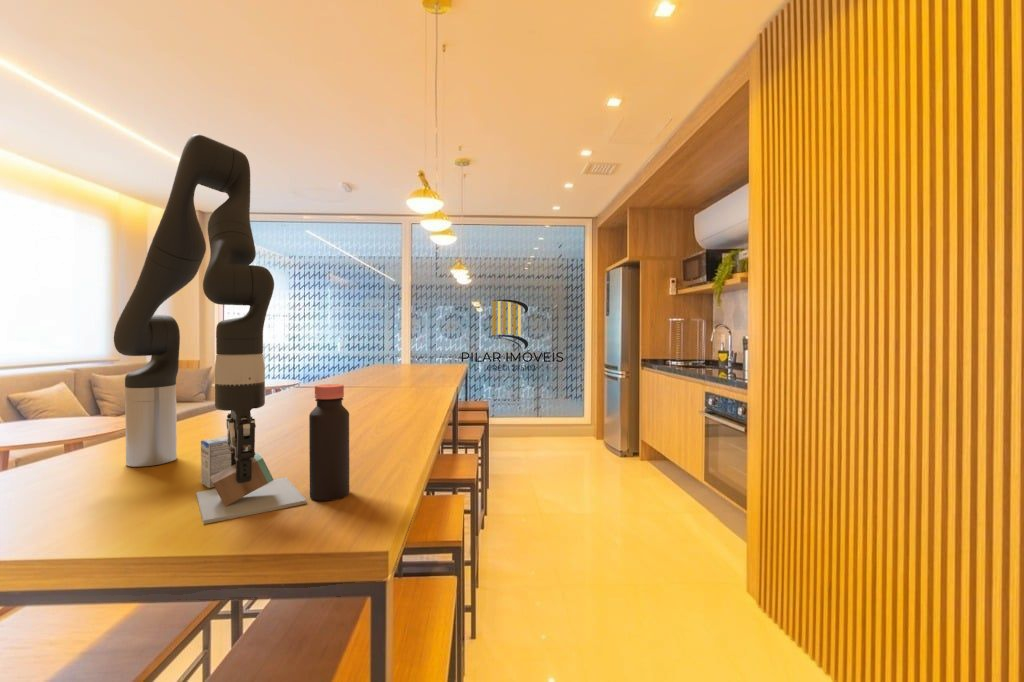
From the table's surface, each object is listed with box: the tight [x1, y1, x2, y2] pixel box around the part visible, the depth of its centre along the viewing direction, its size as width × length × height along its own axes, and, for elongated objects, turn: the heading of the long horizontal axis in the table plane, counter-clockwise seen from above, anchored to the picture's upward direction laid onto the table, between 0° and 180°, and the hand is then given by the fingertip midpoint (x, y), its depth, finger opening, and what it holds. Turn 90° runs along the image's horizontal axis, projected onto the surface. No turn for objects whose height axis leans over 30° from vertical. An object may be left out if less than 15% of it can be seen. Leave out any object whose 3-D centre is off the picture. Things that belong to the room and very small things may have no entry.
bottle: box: [308, 383, 350, 502], centre depth 87 cm, size 7×7×20 cm
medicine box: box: [200, 435, 248, 489], centre depth 95 cm, size 8×4×9 cm, turn 141°
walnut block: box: [210, 452, 275, 506], centre depth 83 cm, size 4×4×8 cm
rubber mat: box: [195, 476, 307, 525], centre depth 85 cm, size 16×15×1 cm
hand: (241, 476), depth 83 cm, fingers open, 6 cm apart
